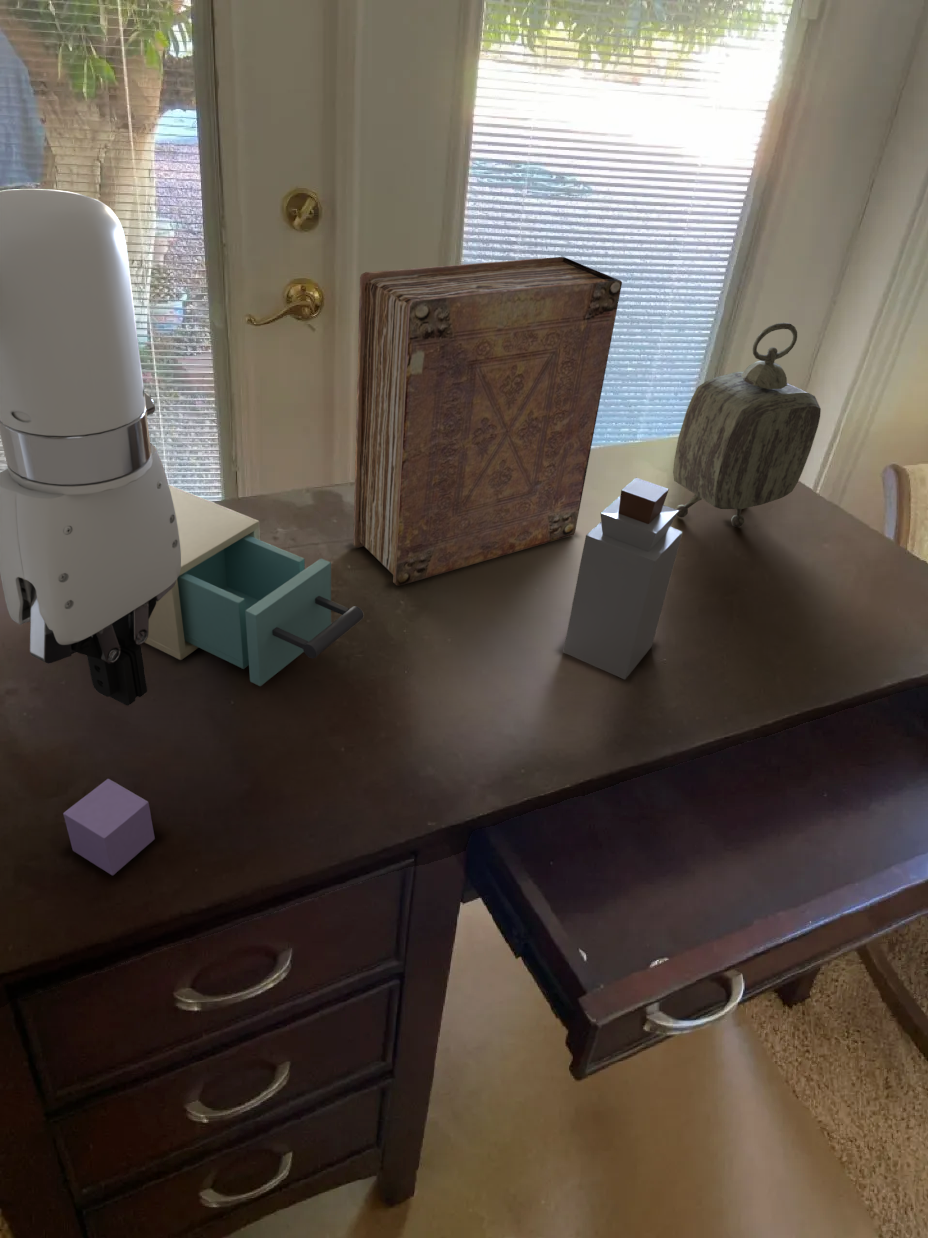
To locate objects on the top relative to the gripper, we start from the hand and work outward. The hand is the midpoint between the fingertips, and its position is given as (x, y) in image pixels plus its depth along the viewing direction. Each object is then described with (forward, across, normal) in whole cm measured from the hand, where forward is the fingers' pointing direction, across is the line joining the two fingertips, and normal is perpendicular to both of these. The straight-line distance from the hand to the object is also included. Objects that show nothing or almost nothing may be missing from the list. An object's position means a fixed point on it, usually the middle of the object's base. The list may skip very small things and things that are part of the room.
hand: (121, 691), depth 60 cm
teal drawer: (+11, -21, -5) cm, 25 cm away
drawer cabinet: (+12, -21, -17) cm, 30 cm away
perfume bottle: (+12, -41, +22) cm, 48 cm away
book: (+12, -50, 0) cm, 52 cm away
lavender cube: (+12, +3, 0) cm, 13 cm away
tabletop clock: (+12, -76, +25) cm, 80 cm away
